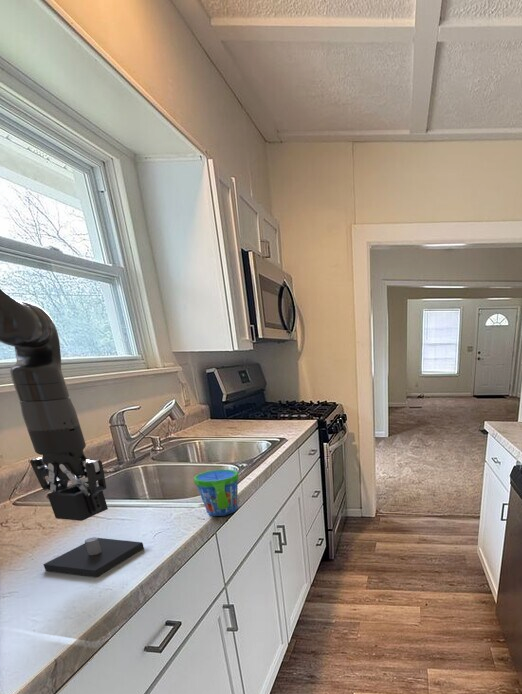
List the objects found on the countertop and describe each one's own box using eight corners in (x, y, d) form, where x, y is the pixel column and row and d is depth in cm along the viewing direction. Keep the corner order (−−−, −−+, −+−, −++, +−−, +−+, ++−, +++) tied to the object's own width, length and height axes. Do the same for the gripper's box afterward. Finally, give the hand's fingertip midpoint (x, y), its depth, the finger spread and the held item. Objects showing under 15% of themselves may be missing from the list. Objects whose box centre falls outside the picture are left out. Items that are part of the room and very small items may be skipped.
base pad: (45, 571, 78) (37, 550, 76) (97, 543, 89) (91, 525, 87) (97, 577, 76) (90, 556, 74) (144, 548, 87) (139, 529, 85)
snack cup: (202, 504, 111) (195, 468, 107) (242, 499, 114) (237, 464, 110) (199, 526, 97) (191, 486, 93) (244, 520, 101) (238, 481, 97)
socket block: (55, 518, 76) (46, 494, 74) (83, 507, 82) (76, 483, 80) (81, 521, 75) (73, 496, 73) (108, 509, 81) (101, 485, 79)
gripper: (-1, 427, 70) (33, 516, 76) (67, 430, 67) (96, 521, 73) (41, 420, 77) (69, 501, 83) (104, 422, 74) (128, 506, 80)
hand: (81, 510), depth 78 cm, fingers closed on socket block, 6 cm apart
